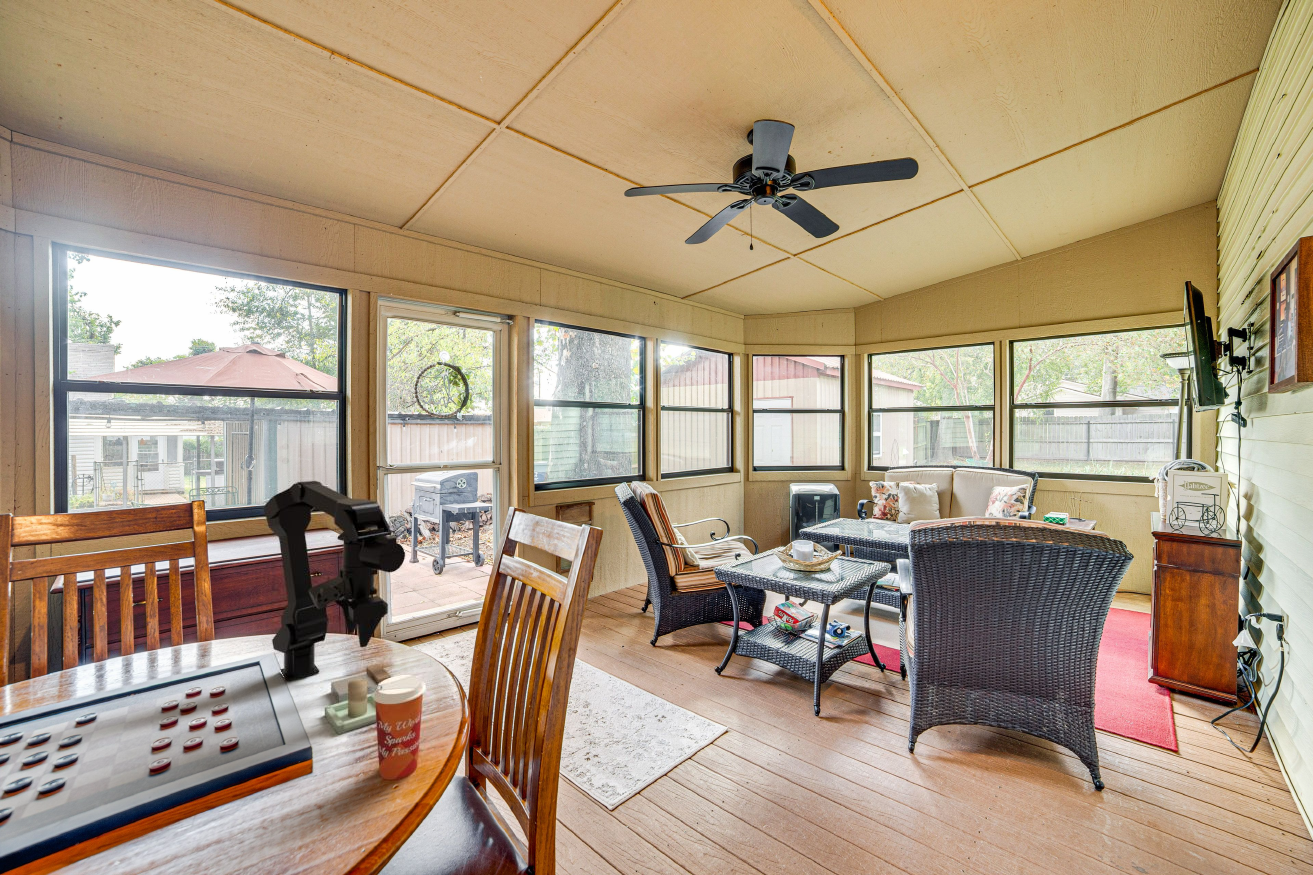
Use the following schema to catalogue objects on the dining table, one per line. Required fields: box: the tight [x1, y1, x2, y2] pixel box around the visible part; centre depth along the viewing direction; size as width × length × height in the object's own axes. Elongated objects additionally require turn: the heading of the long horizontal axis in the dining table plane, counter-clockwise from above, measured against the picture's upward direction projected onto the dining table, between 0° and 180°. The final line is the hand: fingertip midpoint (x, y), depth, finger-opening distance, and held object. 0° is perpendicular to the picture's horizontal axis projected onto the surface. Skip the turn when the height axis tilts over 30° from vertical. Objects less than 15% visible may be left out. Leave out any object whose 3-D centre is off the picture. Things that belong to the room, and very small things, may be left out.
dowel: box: [348, 679, 367, 718], centre depth 107 cm, size 3×3×6 cm
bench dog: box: [366, 663, 392, 686], centre depth 120 cm, size 8×2×3 cm, turn 44°
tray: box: [324, 693, 376, 735], centre depth 107 cm, size 9×9×2 cm
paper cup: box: [373, 674, 427, 781], centre depth 91 cm, size 8×8×14 cm
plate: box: [330, 672, 377, 704], centre depth 116 cm, size 7×7×2 cm
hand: (356, 639), depth 115 cm, fingers open, 9 cm apart
